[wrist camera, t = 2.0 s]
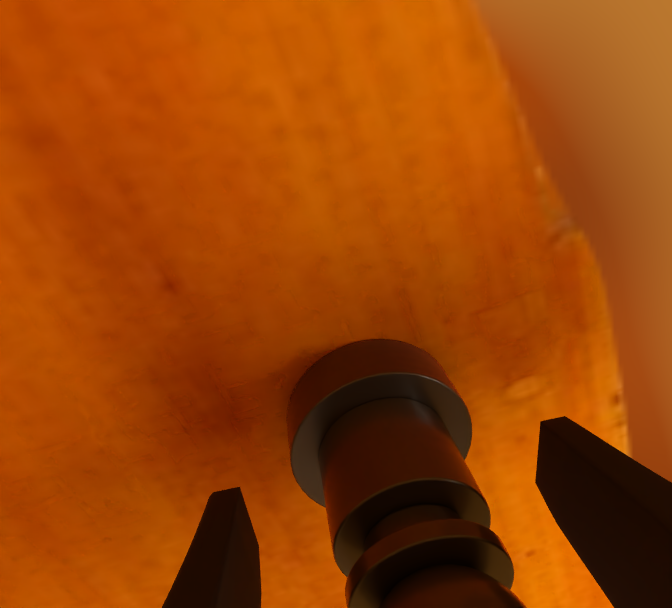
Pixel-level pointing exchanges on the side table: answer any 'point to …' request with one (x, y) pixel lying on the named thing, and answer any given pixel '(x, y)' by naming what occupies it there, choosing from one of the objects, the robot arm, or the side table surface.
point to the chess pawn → (396, 480)
